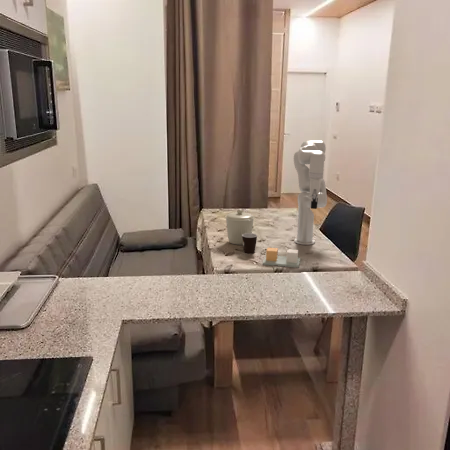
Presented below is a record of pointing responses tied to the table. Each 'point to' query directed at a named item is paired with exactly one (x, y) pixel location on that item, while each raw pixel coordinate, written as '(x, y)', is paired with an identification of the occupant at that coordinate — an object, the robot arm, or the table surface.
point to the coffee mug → (249, 243)
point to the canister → (238, 225)
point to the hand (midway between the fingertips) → (314, 206)
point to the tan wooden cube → (272, 254)
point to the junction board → (285, 259)
